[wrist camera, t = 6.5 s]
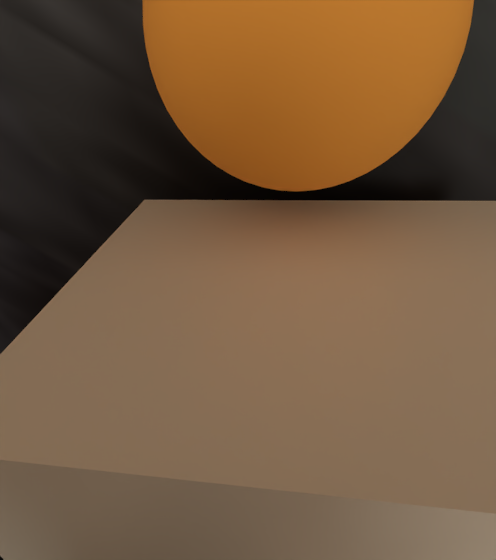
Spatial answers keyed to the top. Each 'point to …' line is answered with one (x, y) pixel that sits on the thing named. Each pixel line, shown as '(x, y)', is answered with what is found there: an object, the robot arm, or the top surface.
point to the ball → (303, 80)
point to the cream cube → (261, 388)
